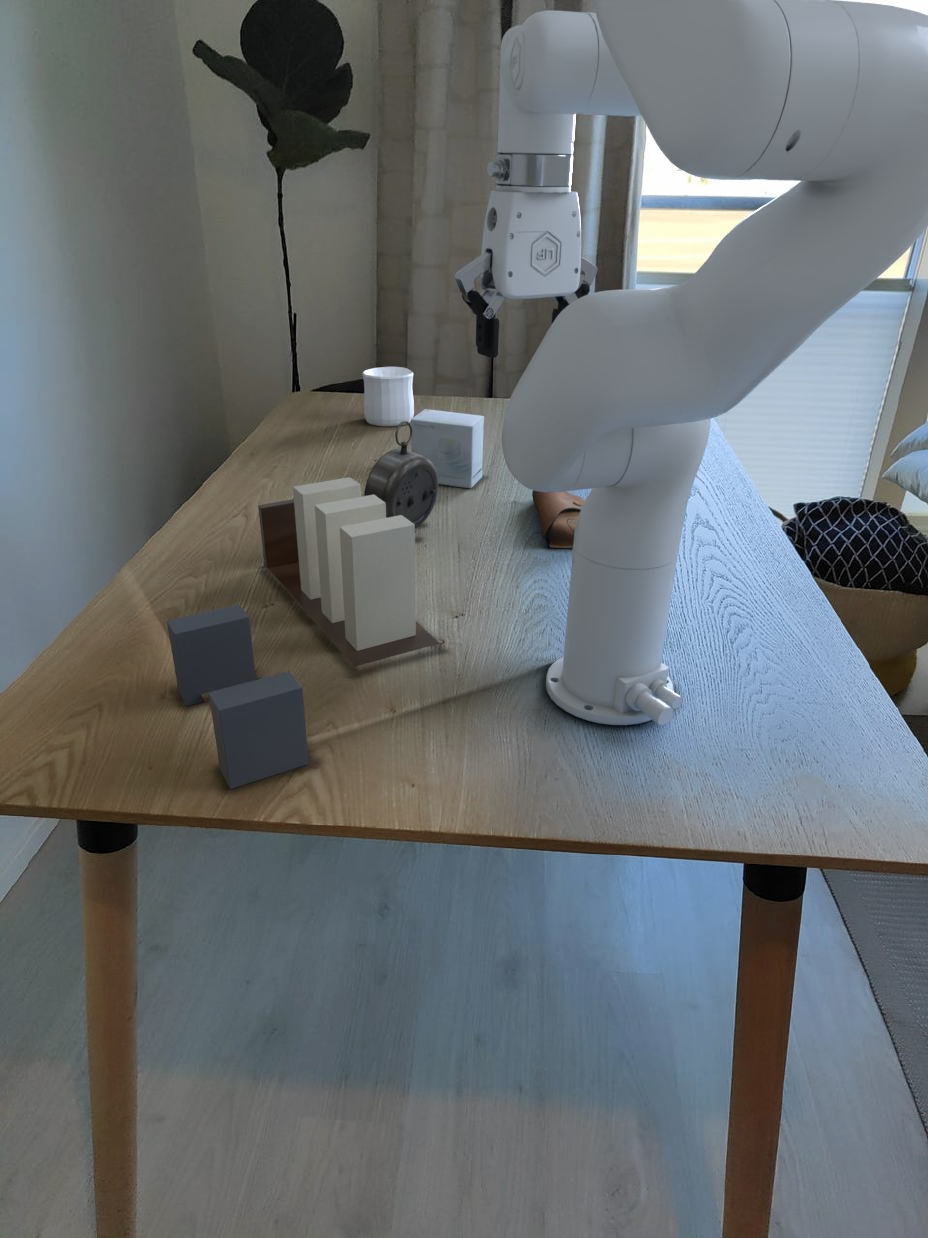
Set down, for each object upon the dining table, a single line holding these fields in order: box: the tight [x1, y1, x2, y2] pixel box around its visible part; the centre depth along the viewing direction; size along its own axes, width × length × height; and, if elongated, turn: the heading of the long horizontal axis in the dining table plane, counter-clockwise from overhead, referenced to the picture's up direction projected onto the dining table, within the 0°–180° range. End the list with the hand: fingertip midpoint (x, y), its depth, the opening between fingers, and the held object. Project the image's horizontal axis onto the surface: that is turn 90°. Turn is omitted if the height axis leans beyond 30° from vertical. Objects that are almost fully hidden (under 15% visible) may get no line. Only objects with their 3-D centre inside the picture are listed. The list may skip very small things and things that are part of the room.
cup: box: [362, 366, 415, 427], centre depth 169 cm, size 10×10×10 cm
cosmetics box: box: [410, 408, 485, 489], centre depth 138 cm, size 10×6×10 cm, turn 71°
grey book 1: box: [166, 604, 257, 707], centre depth 83 cm, size 3×7×8 cm, turn 120°
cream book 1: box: [292, 476, 362, 600], centre depth 99 cm, size 3×7×13 cm, turn 120°
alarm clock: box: [363, 421, 439, 534], centre depth 116 cm, size 11×5×16 cm, turn 141°
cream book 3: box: [340, 515, 417, 651], centre depth 89 cm, size 3×7×13 cm, turn 120°
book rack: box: [257, 498, 440, 667], centre depth 98 cm, size 28×10×9 cm, turn 30°
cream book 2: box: [315, 495, 386, 623], centre depth 95 cm, size 3×7×13 cm, turn 120°
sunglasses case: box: [531, 490, 586, 550], centre depth 124 cm, size 18×7×7 cm
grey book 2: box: [208, 670, 310, 790], centre depth 72 cm, size 3×7×8 cm, turn 120°
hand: (524, 351), depth 93 cm, fingers open, 9 cm apart
